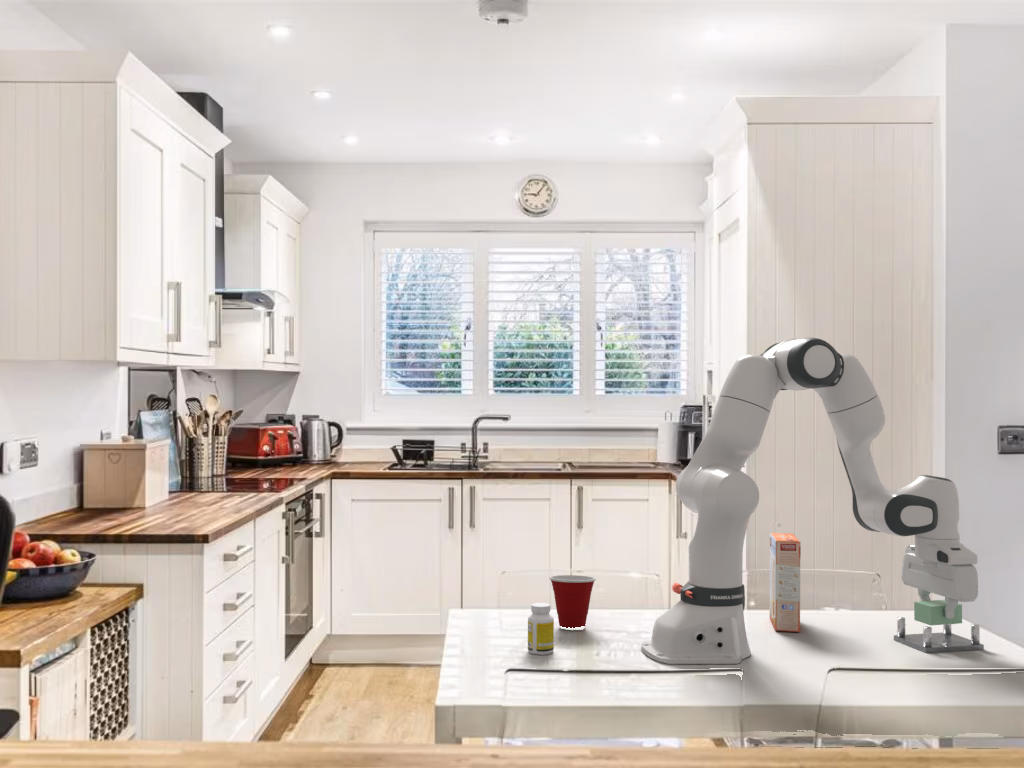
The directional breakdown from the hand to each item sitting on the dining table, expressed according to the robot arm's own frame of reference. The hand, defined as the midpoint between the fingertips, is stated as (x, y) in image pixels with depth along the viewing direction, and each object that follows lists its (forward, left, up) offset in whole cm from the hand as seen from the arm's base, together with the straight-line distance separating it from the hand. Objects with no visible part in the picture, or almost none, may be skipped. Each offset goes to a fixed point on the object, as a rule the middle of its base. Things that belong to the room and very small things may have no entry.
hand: (937, 614), depth 190 cm
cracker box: (-24, +22, -7) cm, 33 cm away
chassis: (0, 0, -6) cm, 7 cm away
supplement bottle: (-86, +11, -7) cm, 87 cm away
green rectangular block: (0, 0, -2) cm, 2 cm away
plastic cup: (-74, +29, -7) cm, 80 cm away
